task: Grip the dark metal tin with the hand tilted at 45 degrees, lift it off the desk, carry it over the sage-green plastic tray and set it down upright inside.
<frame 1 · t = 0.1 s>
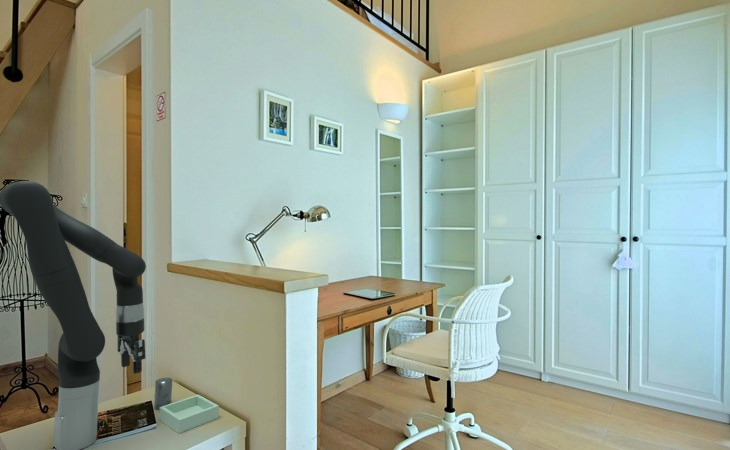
hand: (131, 369, 118), 17 cm above the table, fingers open, 8 cm apart
tray: (188, 418, 123), on the table
metal tin: (162, 406, 131), on the table
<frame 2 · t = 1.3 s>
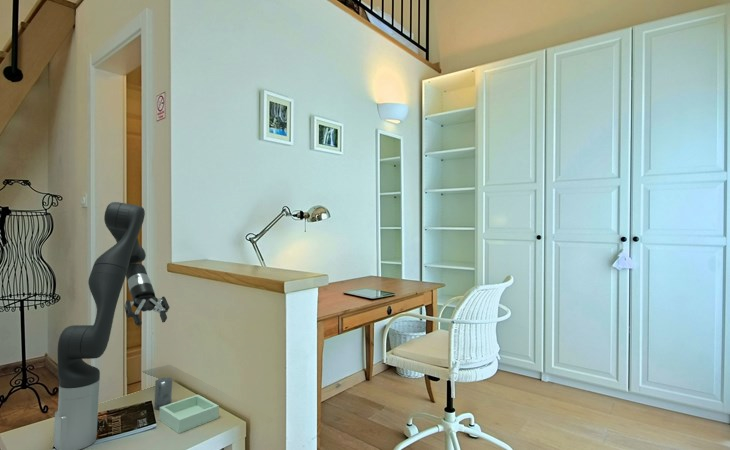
hand: (152, 323, 139), 27 cm above the table, fingers open, 8 cm apart
nothing on the table moved.
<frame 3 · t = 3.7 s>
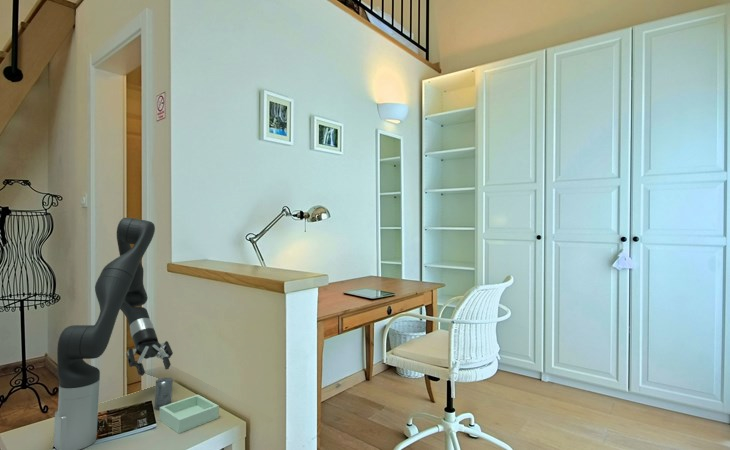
hand: (155, 371, 135), 11 cm above the table, fingers open, 8 cm apart
nothing on the table moved.
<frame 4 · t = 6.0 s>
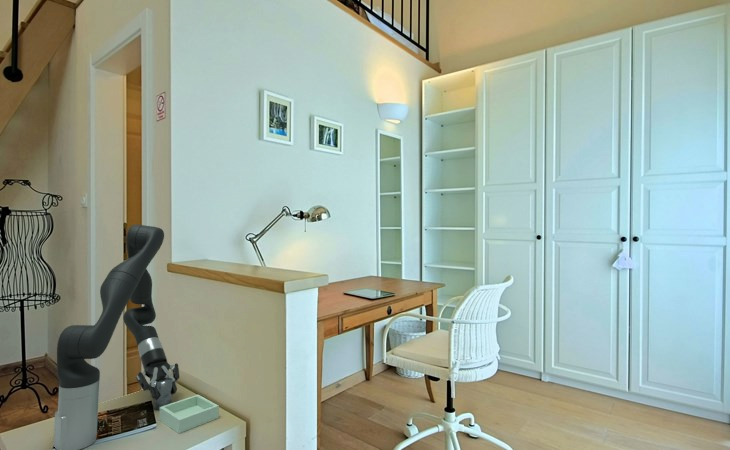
hand: (165, 395, 130), 4 cm above the table, fingers closed on metal tin, 5 cm apart
metal tin: (162, 406, 131), on the table, touching gripper
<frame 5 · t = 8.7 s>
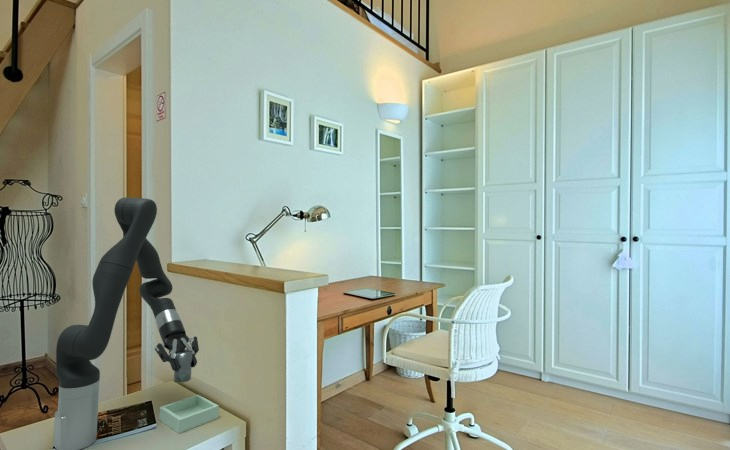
hand: (186, 367, 125), 16 cm above the table, fingers closed on metal tin, 5 cm apart
metal tin: (182, 379, 125), point 12 cm above the table, touching gripper
when the fingers open (7 cm above the table, at t = 11.3 s): metal tin drops 1 cm, resting on tray.
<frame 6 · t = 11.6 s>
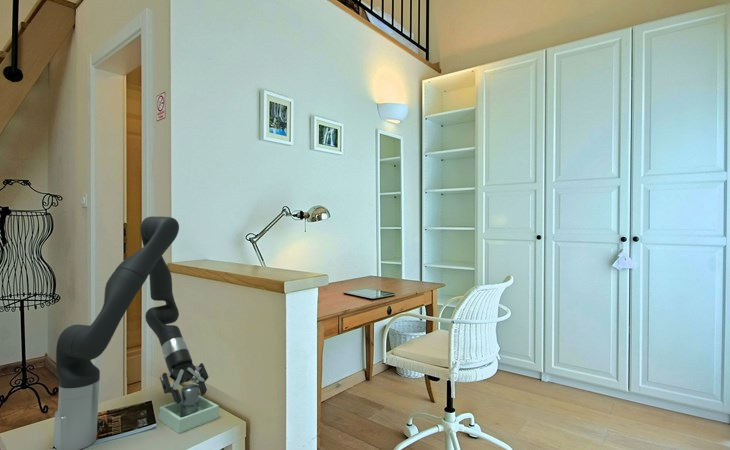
hand: (192, 398, 122), 7 cm above the table, fingers open, 8 cm apart
metal tin: (189, 415, 123), point 1 cm above the table, touching tray
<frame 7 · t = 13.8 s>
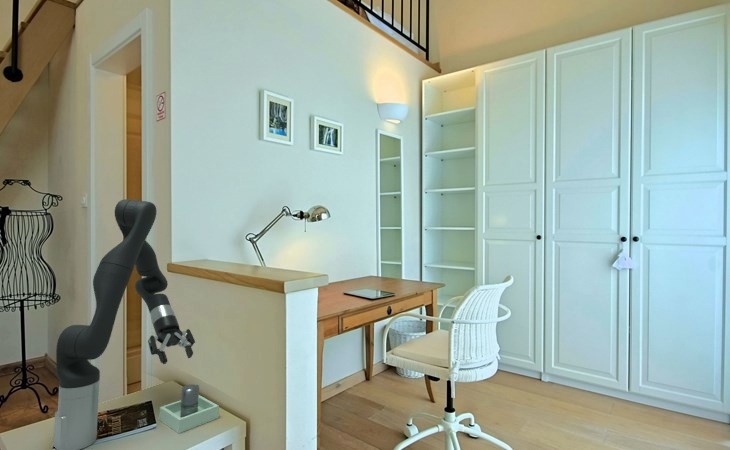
hand: (178, 359, 129), 17 cm above the table, fingers open, 8 cm apart
nothing on the table moved.
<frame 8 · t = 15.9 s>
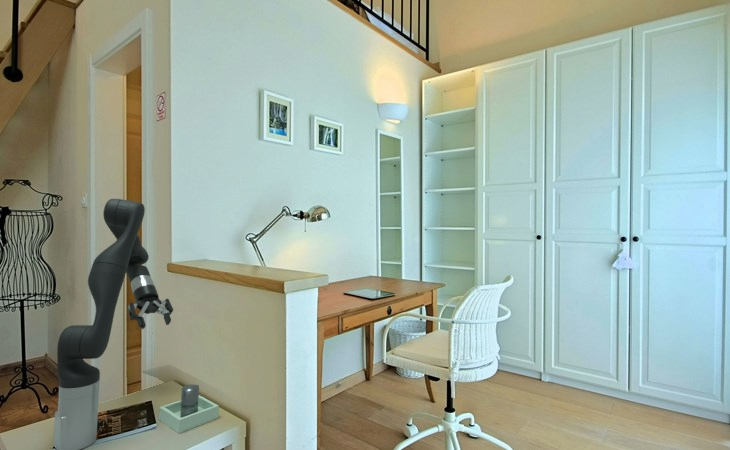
hand: (156, 325, 136), 27 cm above the table, fingers open, 8 cm apart
nothing on the table moved.
at the end: metal tin inside the target area on the tray (0.1 cm from its centre), point 1.0 cm above the tray's base; metal tin tilted 0°; the gripper is holding nothing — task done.
